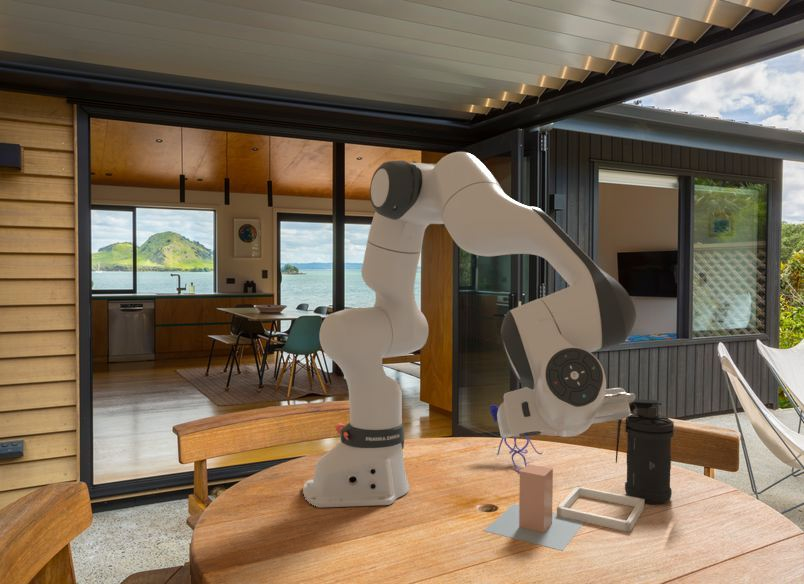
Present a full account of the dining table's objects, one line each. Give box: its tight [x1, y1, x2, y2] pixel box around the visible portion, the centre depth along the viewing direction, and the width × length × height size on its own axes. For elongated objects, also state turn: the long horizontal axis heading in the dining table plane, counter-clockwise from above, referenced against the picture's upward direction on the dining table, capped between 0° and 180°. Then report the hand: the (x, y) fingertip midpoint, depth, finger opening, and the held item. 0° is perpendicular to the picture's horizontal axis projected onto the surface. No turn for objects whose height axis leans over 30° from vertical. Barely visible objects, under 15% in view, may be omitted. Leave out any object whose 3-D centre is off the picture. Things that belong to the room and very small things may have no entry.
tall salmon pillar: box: [518, 463, 554, 533], centre depth 108 cm, size 4×4×10 cm
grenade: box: [615, 398, 675, 505], centre depth 125 cm, size 9×11×20 cm
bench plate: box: [482, 503, 585, 551], centre depth 108 cm, size 14×14×2 cm
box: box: [556, 485, 646, 533], centre depth 114 cm, size 13×13×3 cm
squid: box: [485, 404, 543, 473], centre depth 155 cm, size 14×35×18 cm
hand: (559, 423), depth 101 cm, fingers open, 8 cm apart
